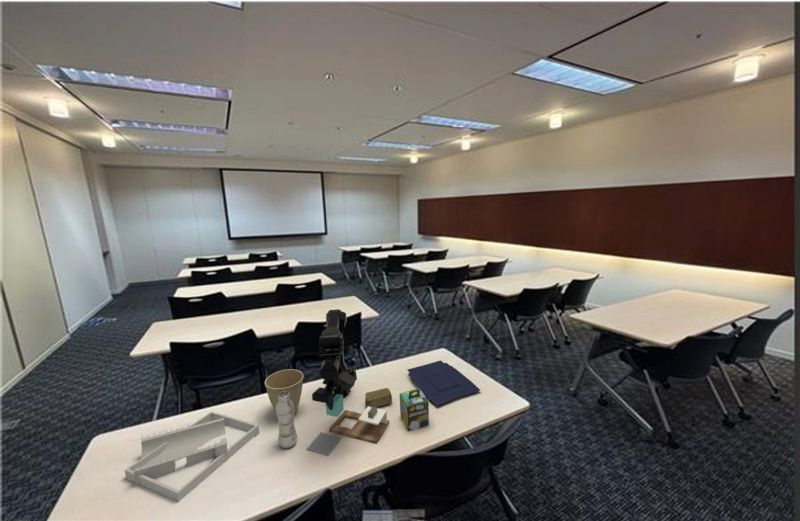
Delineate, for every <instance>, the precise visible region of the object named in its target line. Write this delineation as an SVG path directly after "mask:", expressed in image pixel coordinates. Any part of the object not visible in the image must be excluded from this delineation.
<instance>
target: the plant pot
mask: <svg viewBox="0 0 800 521" xmlns="http://www.w3.org/2000/svg"><path fill="white" fill-rule="evenodd" d="M303 384H304V373H303V372H302V371H300V370H298V369H292V368H291V369H289V368H288V369H282V370H279V371H276V372H274V373H272V374H270V375H268V377H266V379H265V381H264V386H265V389H266V393H267V396H268V399H269V401H270V404H271V406H272V409H273V410H274V412H275V413H276V410H275V409H276V405H277V404H278V402H279V400H278V398H279V397H278V395H279V393H281V392H283V391H288V392H289V396H290V398H289V399H290V400H291V401H292V402H293V403H294V416H295V415H296V413H297V411H298V408H299V404H300V401H301V396H302V392H303Z"/></svg>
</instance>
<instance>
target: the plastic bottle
mask: <svg viewBox="0 0 800 521" xmlns="http://www.w3.org/2000/svg"><path fill="white" fill-rule="evenodd" d="M278 397H279V398H278V400H279V402H278V404H277V405H276V409H275V410H276V412H275V414H276V417H277V418H276V419H277V422H278V436H277V437H278V438H277V439H278V440H277V442H278V444H279V446H280V447H281V448H283V449H290V448H292V447H293V446H294V445H295V444H296V442H297V440H298V439H297V438H298V435H297V430H296V426H295V425H296V424H295V417H294V416H295V415H294V403H293V402H292V401H291V400H290V399H289V398H290V396H289V392H288V391H283V392H281V393H279V395H278ZM275 410H274V411H275Z"/></svg>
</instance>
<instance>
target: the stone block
mask: <svg viewBox="0 0 800 521" xmlns="http://www.w3.org/2000/svg"><path fill="white" fill-rule="evenodd" d="M392 395H393V394H392V391H391V390H390V388H387V387H385V388H380V389H375V390H372V391H369V392H366V393H365V397H364V401H365V402H364V403H365V408H367V407H368V406H369V407H372V406H373V407H377V408H379V407H382V406H386V405H390V404H391V403H393V396H392Z"/></svg>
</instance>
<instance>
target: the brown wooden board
mask: <svg viewBox="0 0 800 521" xmlns="http://www.w3.org/2000/svg"><path fill="white" fill-rule="evenodd" d="M362 414H363V413H360V412H356V411H353V410H352V411H351V410H347V409H344V410H343V411H342V412H341V414H340V415H339V416H338V417H337V418H336V420H334V422H333V424H331V425H330V426H329V428H328V432H329V433H332V434H336V435H340V436H345V437H348V438H352V439H356V440H360V441H364V442H368V443H372V444H375V445H377V444H378V443H379V441H380V439H381V437H382V436H383V434H384V433H385V431H386V429H387V428H388V427H389V424H390V420H388V419H387V423H382V422H380V423H379V425H374V424H370V423H366V422H362V421H358V419H359V418H360V416H361V415H362ZM345 419H349V420H354V421H356V422H355V424H353V427H352V428H348V427H345V426H341V424H342V423H343V421H344V420H345Z"/></svg>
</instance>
